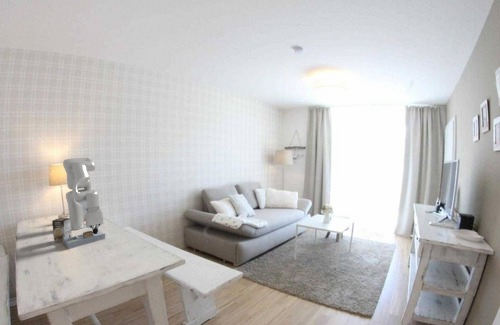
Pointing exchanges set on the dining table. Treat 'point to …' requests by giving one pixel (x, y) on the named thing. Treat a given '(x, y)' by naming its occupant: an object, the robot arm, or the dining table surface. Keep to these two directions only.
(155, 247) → the dining table surface
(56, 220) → the coffee box
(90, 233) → the block
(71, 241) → the tray
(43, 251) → the dining table surface
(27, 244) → the dining table surface
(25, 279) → the dining table surface
